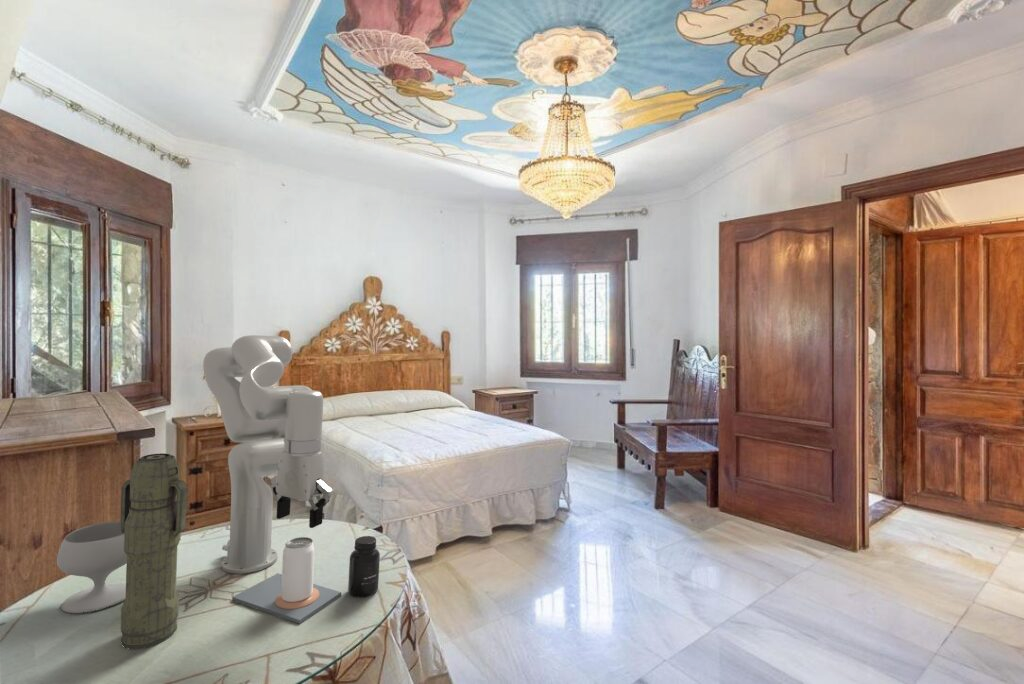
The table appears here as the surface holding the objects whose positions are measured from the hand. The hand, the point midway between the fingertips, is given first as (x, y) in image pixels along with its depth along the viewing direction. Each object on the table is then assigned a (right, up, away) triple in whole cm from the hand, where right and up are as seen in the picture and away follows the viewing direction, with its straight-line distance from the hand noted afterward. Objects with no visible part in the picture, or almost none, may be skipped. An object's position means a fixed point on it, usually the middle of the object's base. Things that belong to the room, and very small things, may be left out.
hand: (299, 521), depth 106 cm
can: (-1, -17, 0) cm, 17 cm away
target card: (-3, -18, +1) cm, 18 cm away
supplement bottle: (+13, -19, +5) cm, 23 cm away
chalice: (-43, -17, -2) cm, 46 cm away
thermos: (-23, -17, -14) cm, 32 cm away
